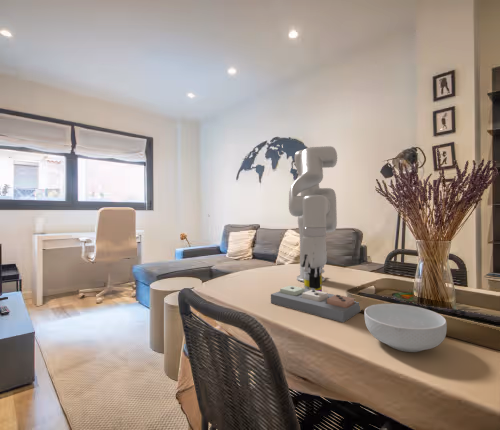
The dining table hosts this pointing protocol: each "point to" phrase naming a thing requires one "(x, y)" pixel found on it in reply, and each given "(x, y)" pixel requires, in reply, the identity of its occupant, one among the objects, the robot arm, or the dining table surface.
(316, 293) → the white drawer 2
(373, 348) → the dining table surface
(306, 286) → the supplement bottle
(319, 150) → the robot arm
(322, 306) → the grey flat board
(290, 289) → the knob block
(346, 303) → the pink block
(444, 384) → the dining table surface
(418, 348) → the cereal bowl
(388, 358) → the dining table surface
